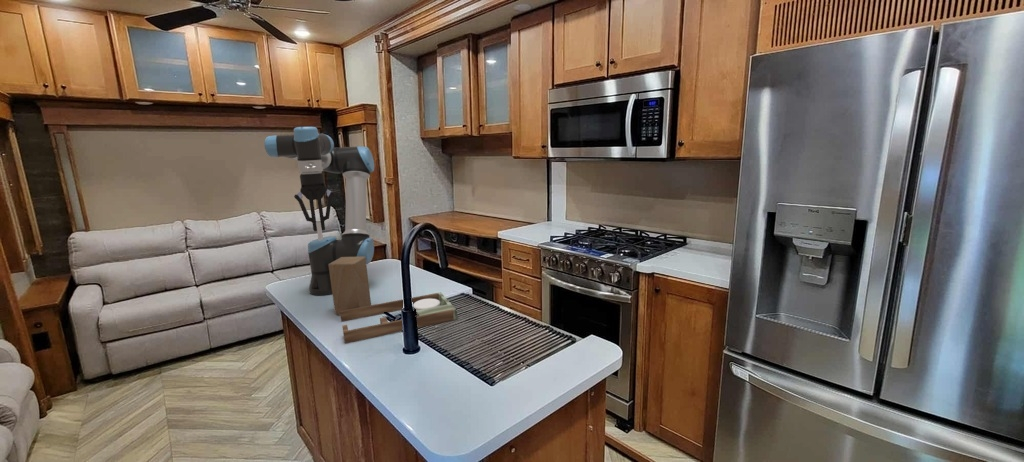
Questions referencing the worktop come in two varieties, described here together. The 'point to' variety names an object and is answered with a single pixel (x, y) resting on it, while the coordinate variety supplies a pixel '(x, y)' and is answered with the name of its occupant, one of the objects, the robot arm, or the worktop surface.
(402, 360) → the worktop surface
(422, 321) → the open wooden box
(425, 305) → the coaster
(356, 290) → the wooden block
